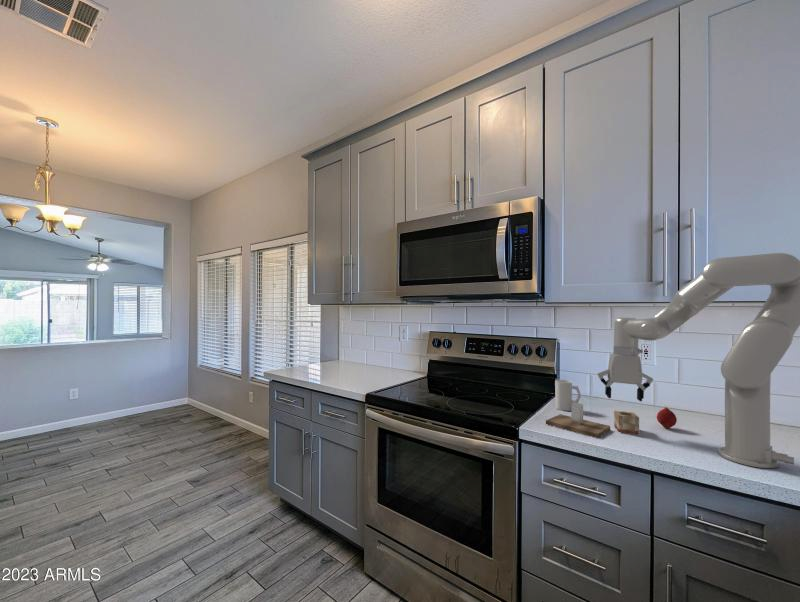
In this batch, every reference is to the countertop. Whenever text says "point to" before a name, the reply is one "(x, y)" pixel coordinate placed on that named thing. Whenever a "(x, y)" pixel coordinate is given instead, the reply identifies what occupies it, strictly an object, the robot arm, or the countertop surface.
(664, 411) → the onion
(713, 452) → the countertop surface
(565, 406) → the mug
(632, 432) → the sleeve
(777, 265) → the robot arm
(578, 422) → the steel pin
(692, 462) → the countertop surface
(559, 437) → the countertop surface
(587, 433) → the pin board
